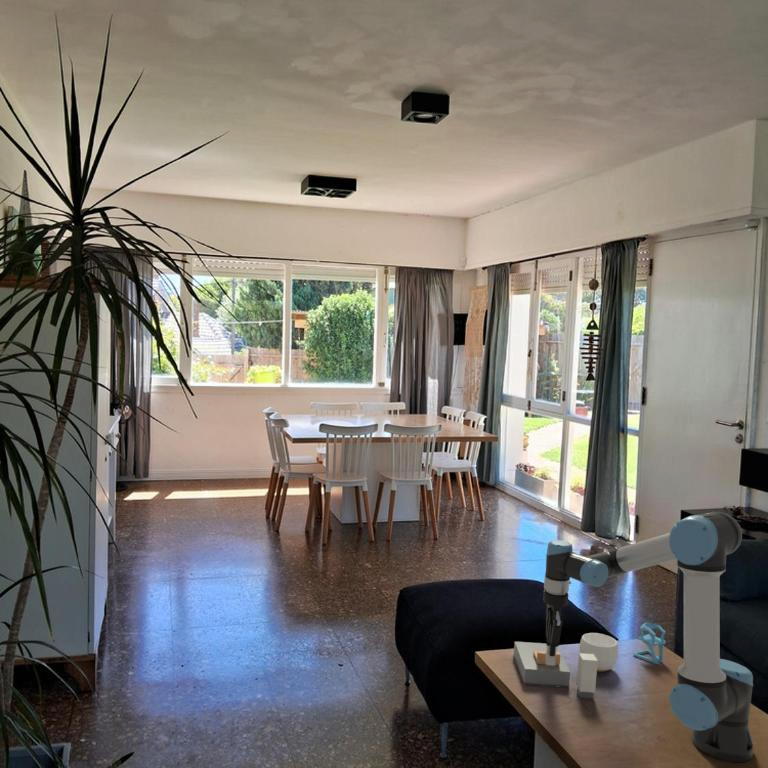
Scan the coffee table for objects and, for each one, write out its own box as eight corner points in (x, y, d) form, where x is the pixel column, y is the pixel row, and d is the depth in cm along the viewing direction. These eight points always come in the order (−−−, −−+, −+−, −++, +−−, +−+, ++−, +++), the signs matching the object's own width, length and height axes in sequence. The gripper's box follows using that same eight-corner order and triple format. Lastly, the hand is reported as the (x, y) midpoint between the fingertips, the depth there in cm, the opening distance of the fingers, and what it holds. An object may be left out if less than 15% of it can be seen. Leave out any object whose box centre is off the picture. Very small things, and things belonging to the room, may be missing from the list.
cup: (620, 666, 243) (623, 638, 242) (611, 680, 232) (614, 651, 232) (583, 656, 249) (586, 628, 248) (573, 669, 239) (575, 641, 238)
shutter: (559, 665, 229) (560, 654, 229) (537, 663, 229) (538, 653, 229) (554, 655, 236) (555, 645, 236) (533, 654, 236) (534, 643, 236)
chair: (652, 666, 245) (656, 631, 244) (632, 655, 252) (636, 622, 251) (667, 661, 249) (670, 628, 248) (647, 651, 256) (650, 618, 255)
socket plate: (568, 687, 226) (570, 671, 225) (523, 684, 226) (525, 668, 226) (554, 658, 246) (555, 644, 245) (513, 655, 246) (514, 641, 246)
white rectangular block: (594, 699, 220) (597, 660, 219) (579, 698, 220) (582, 659, 219) (590, 691, 224) (593, 654, 223) (575, 690, 224) (579, 653, 223)
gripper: (573, 599, 218) (567, 674, 220) (563, 584, 231) (557, 655, 233) (548, 597, 218) (542, 673, 220) (539, 582, 231) (534, 654, 233)
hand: (550, 664), depth 227 cm, fingers closed
